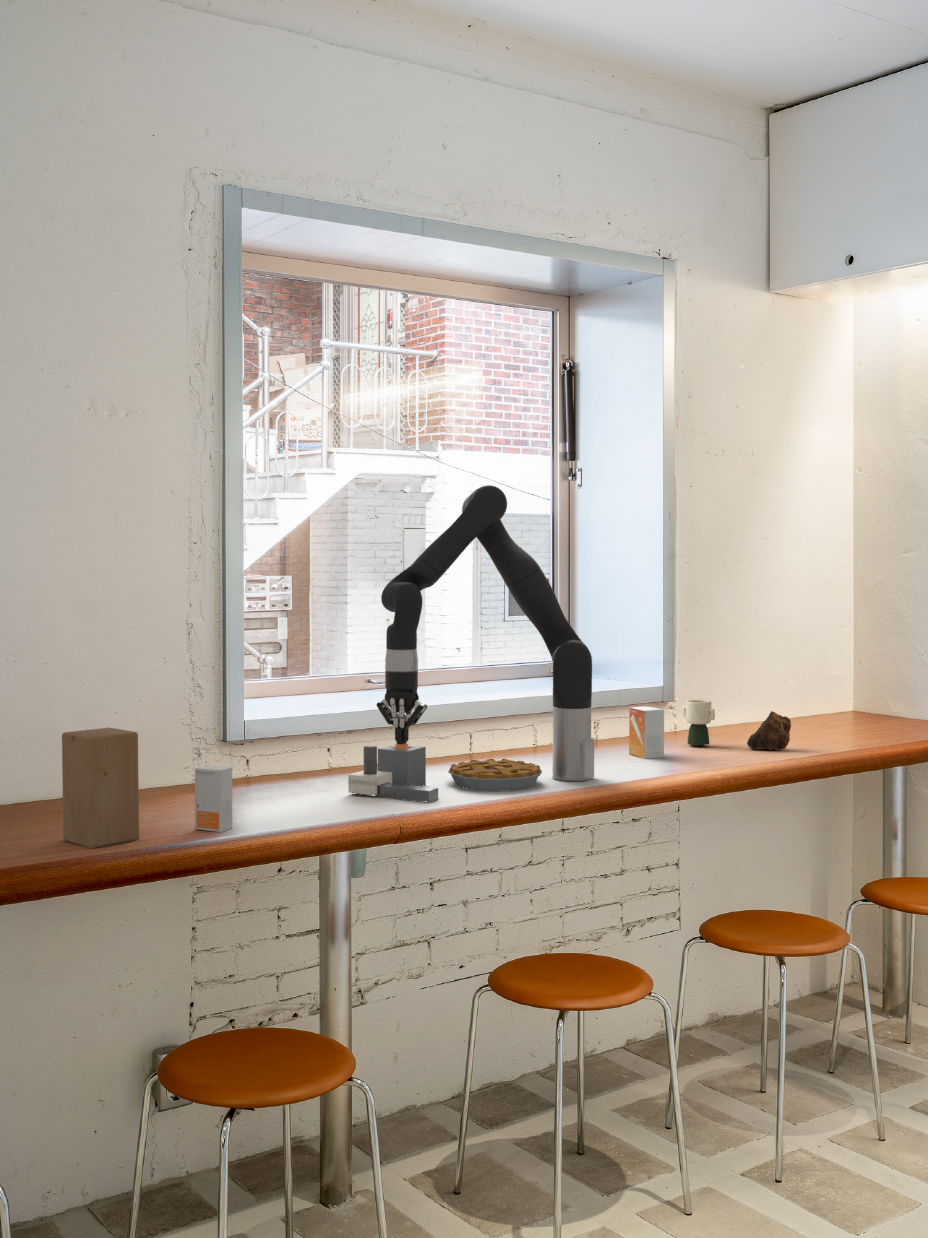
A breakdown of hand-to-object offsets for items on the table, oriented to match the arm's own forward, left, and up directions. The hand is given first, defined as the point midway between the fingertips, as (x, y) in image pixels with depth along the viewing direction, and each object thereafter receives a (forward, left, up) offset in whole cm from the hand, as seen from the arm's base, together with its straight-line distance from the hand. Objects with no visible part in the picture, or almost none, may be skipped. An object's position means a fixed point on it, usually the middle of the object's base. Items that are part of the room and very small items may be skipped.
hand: (401, 743), depth 261 cm
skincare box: (+8, +55, -10) cm, 56 cm away
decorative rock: (-61, -97, -10) cm, 115 cm away
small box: (-34, -70, -10) cm, 79 cm away
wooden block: (+20, +72, -10) cm, 75 cm away
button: (0, 0, -5) cm, 5 cm away
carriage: (+1, +11, -10) cm, 15 cm away
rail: (-5, +11, -10) cm, 16 cm away
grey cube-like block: (0, 0, -10) cm, 10 cm away
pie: (-17, -14, -10) cm, 24 cm away
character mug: (-41, -94, -10) cm, 103 cm away
